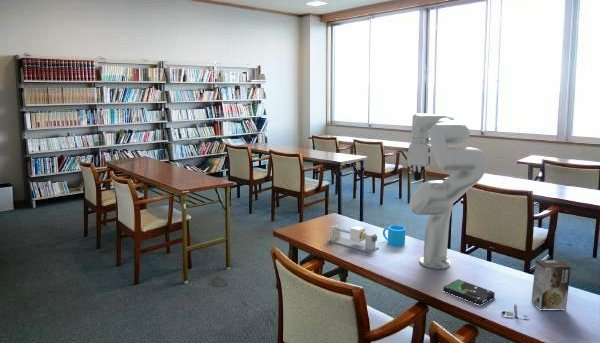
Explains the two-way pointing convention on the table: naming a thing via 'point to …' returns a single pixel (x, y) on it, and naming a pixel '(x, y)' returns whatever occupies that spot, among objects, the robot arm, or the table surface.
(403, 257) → the table surface
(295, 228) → the table surface
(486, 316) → the table surface
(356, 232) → the sleeve
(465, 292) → the disk drive
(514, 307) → the strap clip
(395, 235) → the mug
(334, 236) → the cord rig
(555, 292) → the coffee box
